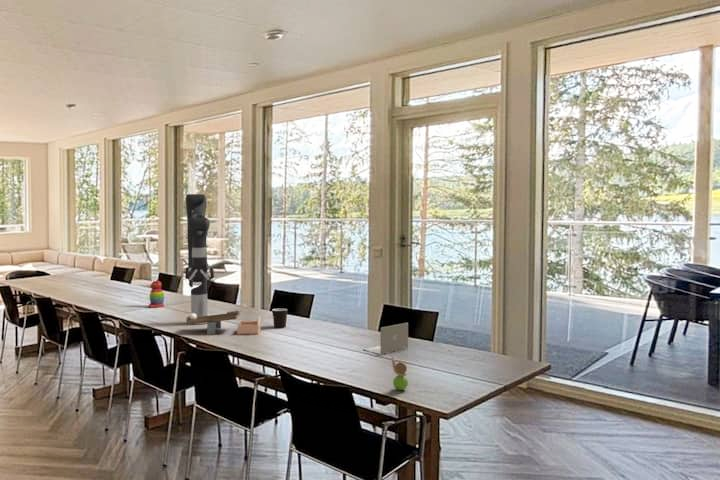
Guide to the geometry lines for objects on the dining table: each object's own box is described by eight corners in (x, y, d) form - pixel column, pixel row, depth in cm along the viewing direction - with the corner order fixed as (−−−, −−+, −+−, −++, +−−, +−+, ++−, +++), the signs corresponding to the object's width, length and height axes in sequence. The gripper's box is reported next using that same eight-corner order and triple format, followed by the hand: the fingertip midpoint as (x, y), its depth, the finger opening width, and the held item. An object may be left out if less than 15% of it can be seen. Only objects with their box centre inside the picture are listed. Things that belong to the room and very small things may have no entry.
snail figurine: (395, 386, 218) (395, 354, 217) (410, 389, 214) (410, 357, 214) (387, 390, 213) (388, 357, 213) (403, 393, 210) (403, 360, 209)
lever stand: (213, 328, 324) (213, 316, 324) (220, 328, 324) (220, 316, 324) (207, 334, 307) (207, 322, 307) (215, 334, 307) (214, 322, 307)
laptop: (389, 345, 286) (390, 318, 286) (408, 349, 277) (408, 322, 276) (362, 350, 275) (362, 323, 274) (380, 355, 265) (380, 327, 264)
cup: (239, 330, 318) (239, 315, 318) (260, 330, 319) (260, 315, 319) (236, 334, 308) (236, 319, 307) (258, 334, 308) (258, 319, 308)
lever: (193, 321, 322) (192, 313, 322) (240, 316, 323) (239, 308, 323) (187, 326, 308) (186, 318, 308) (236, 321, 309) (235, 312, 309)
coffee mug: (284, 329, 322) (284, 311, 322) (269, 328, 324) (269, 310, 323) (291, 325, 334) (291, 307, 333) (277, 324, 335) (276, 307, 335)
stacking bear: (148, 305, 399) (148, 280, 398) (164, 305, 402) (164, 279, 401) (148, 308, 389) (147, 281, 388) (164, 307, 392) (163, 281, 391)
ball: (191, 321, 313) (188, 314, 313) (198, 318, 314) (195, 311, 313) (190, 322, 309) (187, 315, 309) (197, 319, 310) (194, 312, 309)
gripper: (214, 255, 305) (215, 286, 306) (187, 255, 305) (188, 286, 306) (211, 256, 298) (212, 288, 299) (183, 256, 297) (184, 288, 298)
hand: (199, 287), depth 302 cm, fingers open, 8 cm apart
